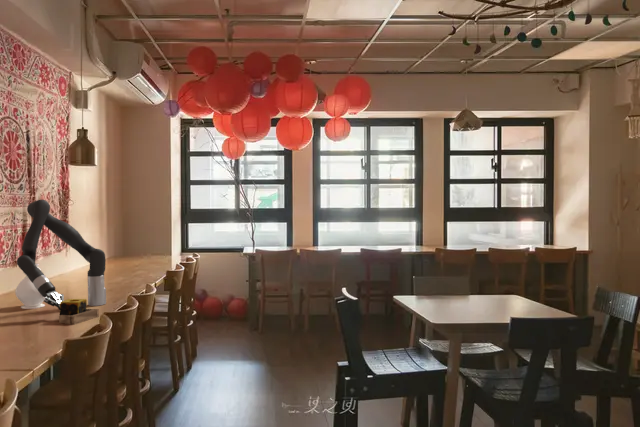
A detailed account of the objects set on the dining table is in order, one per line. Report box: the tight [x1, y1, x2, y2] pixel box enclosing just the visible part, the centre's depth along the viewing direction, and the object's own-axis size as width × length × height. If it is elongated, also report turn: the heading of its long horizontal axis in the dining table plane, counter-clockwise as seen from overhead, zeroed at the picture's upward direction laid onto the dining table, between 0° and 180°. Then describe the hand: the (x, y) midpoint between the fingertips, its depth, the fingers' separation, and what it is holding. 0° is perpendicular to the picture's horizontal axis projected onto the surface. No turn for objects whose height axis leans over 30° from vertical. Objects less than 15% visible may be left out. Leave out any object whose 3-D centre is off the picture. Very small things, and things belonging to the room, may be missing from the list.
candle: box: [58, 298, 88, 316], centre depth 295 cm, size 10×10×10 cm
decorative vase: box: [15, 262, 46, 310], centre depth 332 cm, size 18×18×25 cm
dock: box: [58, 308, 100, 325], centre depth 294 cm, size 9×19×4 cm, turn 165°
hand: (63, 310), depth 297 cm, fingers closed
